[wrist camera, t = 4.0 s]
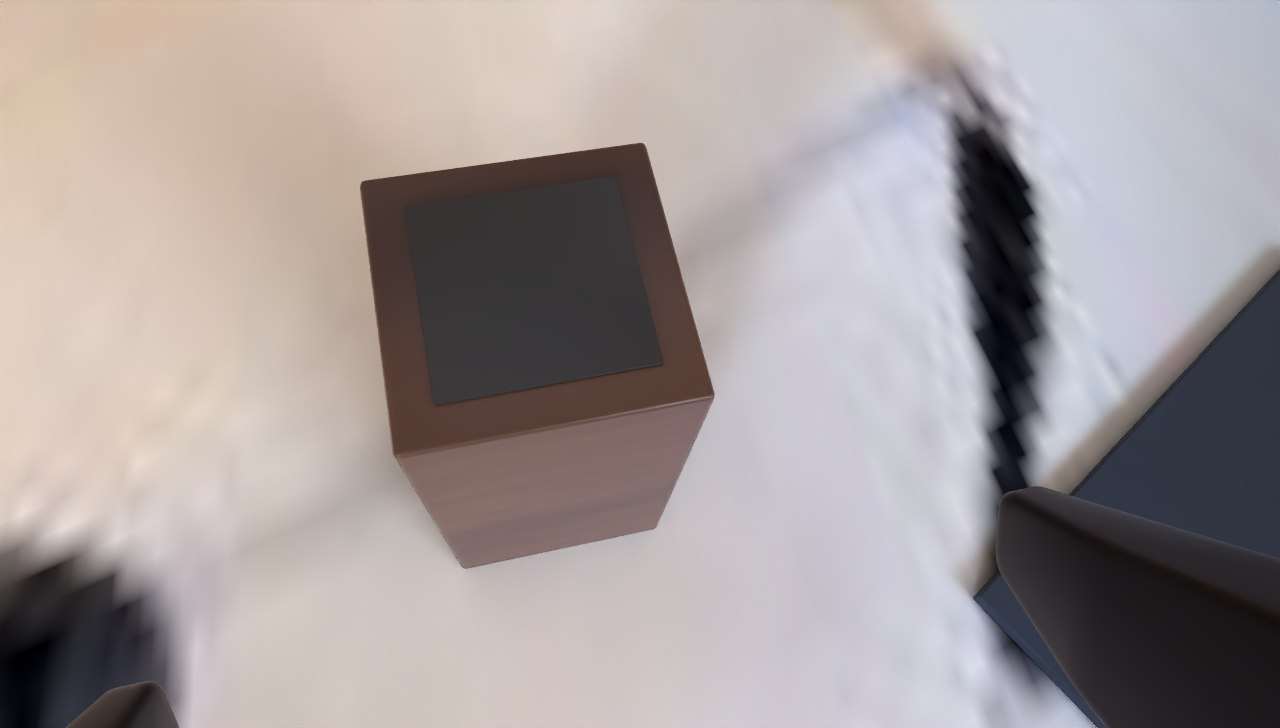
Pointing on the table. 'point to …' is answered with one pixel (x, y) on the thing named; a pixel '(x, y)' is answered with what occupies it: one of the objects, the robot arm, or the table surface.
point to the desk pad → (1189, 462)
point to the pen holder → (535, 348)
